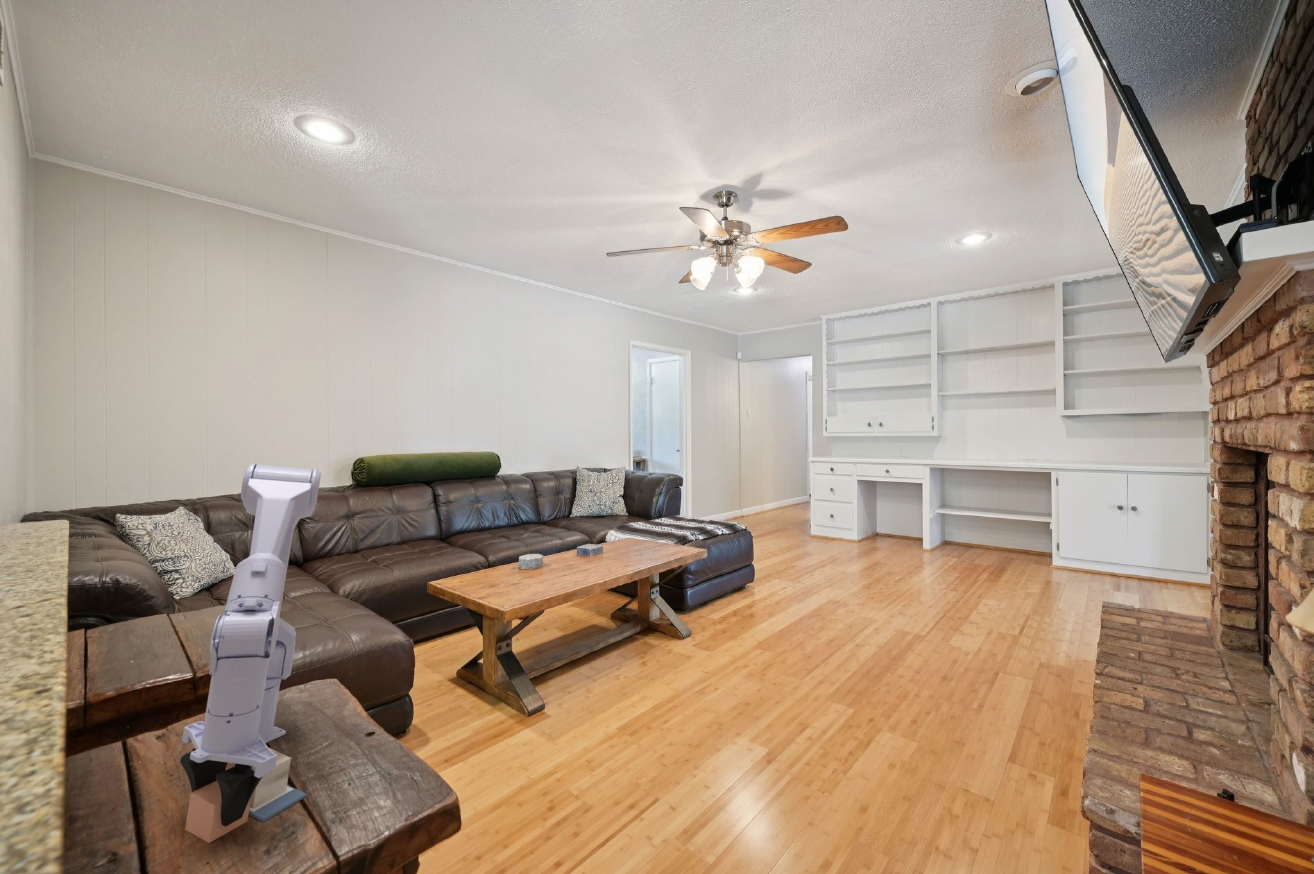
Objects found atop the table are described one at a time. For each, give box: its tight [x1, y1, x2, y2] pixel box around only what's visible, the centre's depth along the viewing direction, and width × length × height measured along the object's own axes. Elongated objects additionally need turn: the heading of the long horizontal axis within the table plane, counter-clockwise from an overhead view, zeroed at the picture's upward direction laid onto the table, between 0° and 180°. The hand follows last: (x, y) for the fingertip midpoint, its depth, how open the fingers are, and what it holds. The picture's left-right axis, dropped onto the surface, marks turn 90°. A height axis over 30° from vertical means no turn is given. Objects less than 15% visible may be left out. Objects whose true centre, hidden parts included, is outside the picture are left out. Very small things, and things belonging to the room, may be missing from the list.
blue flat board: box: [248, 784, 307, 823], centre depth 75 cm, size 10×6×1 cm, turn 70°
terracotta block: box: [184, 781, 251, 844], centre depth 69 cm, size 4×4×4 cm
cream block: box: [250, 747, 292, 808], centre depth 75 cm, size 4×4×4 cm
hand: (218, 813), depth 69 cm, fingers closed on terracotta block, 4 cm apart
